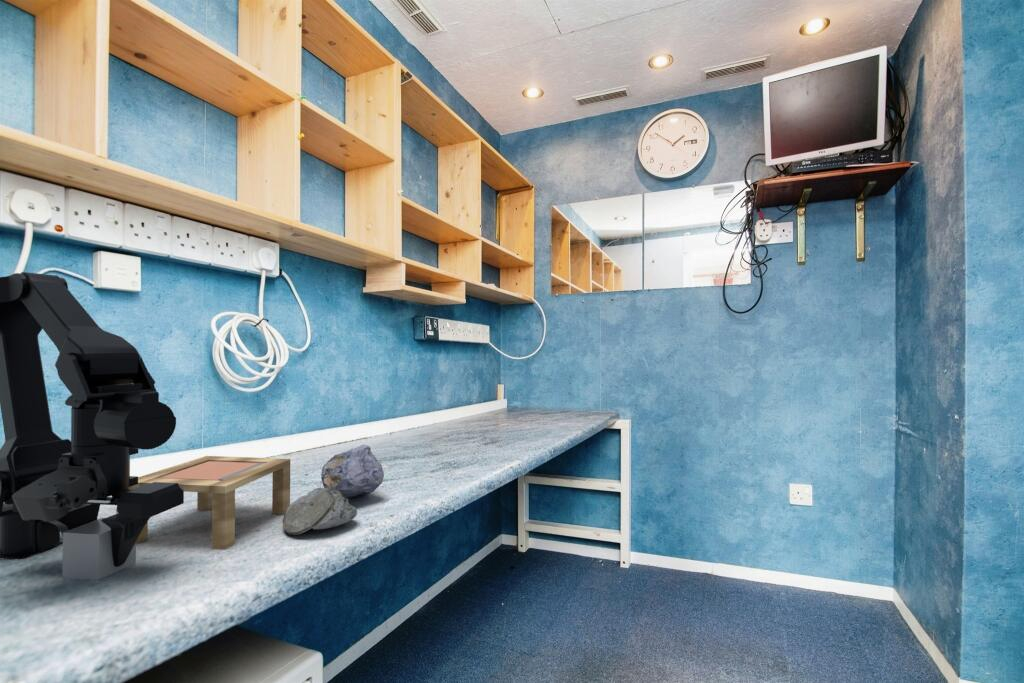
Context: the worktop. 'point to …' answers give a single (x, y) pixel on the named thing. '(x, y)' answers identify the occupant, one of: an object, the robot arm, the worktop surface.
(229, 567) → the worktop surface
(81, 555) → the grey block
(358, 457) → the rock
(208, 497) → the trapdoor frame
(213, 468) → the trapdoor
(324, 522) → the fossilized seashell
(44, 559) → the worktop surface
